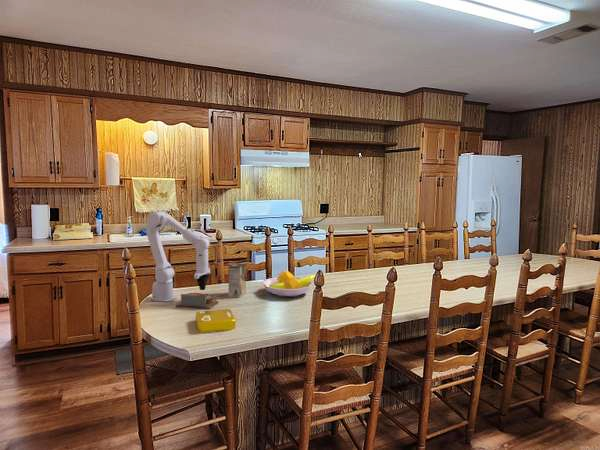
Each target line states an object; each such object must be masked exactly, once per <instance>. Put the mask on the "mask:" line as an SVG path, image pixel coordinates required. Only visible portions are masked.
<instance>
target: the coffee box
mask: <svg viewBox="0 0 600 450" xmlns="http://www.w3.org/2000/svg"><path fill="white" fill-rule="evenodd" d="M246 265H247V264H246V263H240V262H239V263H237V262H235V263H232V264H231V265H229V266H228V298H239V299H240V298H242V296H244V295H245V294H246V291H247V289H246V286H247V285H246V284H247V283H246V282H247V281H246V280H247V278H246V276H247V275H246V270H247V269H246V268H247V266H246Z"/></svg>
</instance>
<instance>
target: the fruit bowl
mask: <svg viewBox="0 0 600 450" xmlns="http://www.w3.org/2000/svg"><path fill="white" fill-rule="evenodd" d="M316 273H317V272H315V273H314V274H311V275H309V276H305V277H298V276H294V274H292V273H291V272H290V271H288V270H282V271H281V272H279V274H278V276H276V277H275V276H274V277H270V278H267V279H265V280H264V281H262V284H263V286H264V288H265V289H266V291H267V292H269V293H271V294H274V295H275V296H278V297H299V296H300V295H303V294H306V293H307V292H310V289H311V288H312V286H313V284H314V282H312V281H313V280H314V279H315V278H316V276H315V274H316Z"/></svg>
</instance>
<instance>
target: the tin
mask: <svg viewBox="0 0 600 450" xmlns="http://www.w3.org/2000/svg"><path fill="white" fill-rule="evenodd" d="M187 294H189V295H201V296H206V304H210V303H212V302H213V301H215V299H214V298H215V296H214V295H213V294H208V293H201V292H199V293H198V292H189V293H187Z"/></svg>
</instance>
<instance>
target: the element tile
mask: <svg viewBox="0 0 600 450" xmlns="http://www.w3.org/2000/svg"><path fill="white" fill-rule="evenodd" d="M195 325H196V329H197V332H198V331H199V332H198V333H200V332H207V333H212V332H211V331H216V332H223V331H222V330H226V331H232V329H233V330H235V329H236V318H235V316H234V314H233V311H232V310H231V309H229V308H225V309H224V308H223V309H214V310H213V309H210V310H202V311H197V312H196V313H195Z"/></svg>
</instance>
